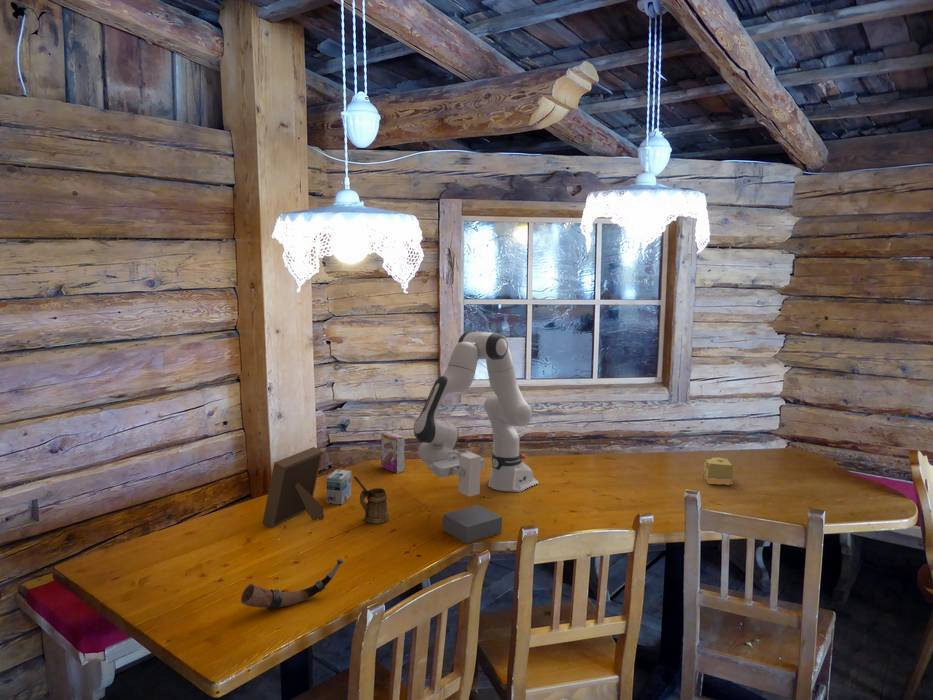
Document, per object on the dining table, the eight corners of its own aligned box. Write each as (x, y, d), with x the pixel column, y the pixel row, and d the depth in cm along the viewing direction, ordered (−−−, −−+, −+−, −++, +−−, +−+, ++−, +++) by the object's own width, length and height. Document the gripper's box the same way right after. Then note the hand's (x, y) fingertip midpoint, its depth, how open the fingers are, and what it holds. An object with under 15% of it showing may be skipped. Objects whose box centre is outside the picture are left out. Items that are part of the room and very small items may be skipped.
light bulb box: (342, 505, 272) (342, 479, 271) (325, 503, 274) (325, 477, 272) (351, 495, 283) (351, 470, 281) (336, 494, 284) (336, 468, 282)
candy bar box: (380, 468, 318) (380, 433, 315) (388, 465, 321) (389, 431, 319) (396, 474, 310) (396, 438, 307) (404, 471, 314) (405, 436, 311)
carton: (469, 488, 255) (470, 452, 253) (479, 493, 250) (480, 456, 248) (458, 491, 252) (459, 454, 250) (468, 496, 247) (469, 458, 245)
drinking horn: (238, 613, 193) (238, 579, 192) (338, 585, 210) (338, 554, 208) (245, 622, 189) (244, 588, 187) (346, 593, 205) (346, 561, 204)
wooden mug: (350, 518, 260) (350, 472, 257) (384, 513, 266) (385, 468, 263) (356, 527, 252) (356, 480, 249) (392, 522, 258) (392, 475, 255)
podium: (477, 519, 262) (477, 504, 261) (501, 532, 251) (502, 517, 250) (442, 529, 252) (443, 514, 251) (466, 543, 241) (467, 527, 241)
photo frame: (262, 526, 251) (261, 459, 247) (301, 506, 270) (301, 444, 266) (294, 535, 244) (295, 467, 240) (332, 514, 264) (333, 451, 260)
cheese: (702, 477, 318) (704, 456, 317) (726, 479, 317) (728, 457, 315) (706, 485, 308) (708, 463, 306) (732, 487, 307) (734, 465, 305)
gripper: (425, 458, 253) (448, 468, 242) (470, 449, 265) (493, 458, 255) (425, 474, 254) (447, 486, 243) (469, 465, 266) (492, 475, 256)
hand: (471, 472), depth 249 cm, fingers closed on carton, 5 cm apart
